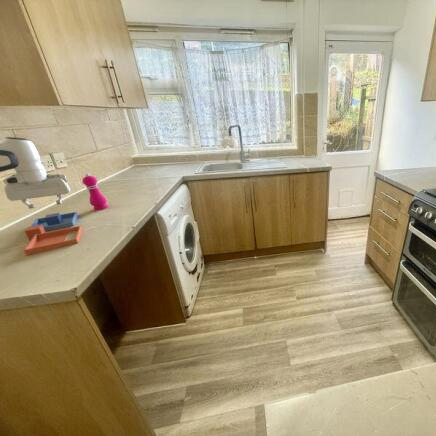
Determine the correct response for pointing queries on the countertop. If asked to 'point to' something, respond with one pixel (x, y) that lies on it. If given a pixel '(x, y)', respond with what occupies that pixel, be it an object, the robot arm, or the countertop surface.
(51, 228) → the blue tray
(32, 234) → the terracotta block
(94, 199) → the pepper mill
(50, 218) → the blue block
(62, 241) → the orange tray
